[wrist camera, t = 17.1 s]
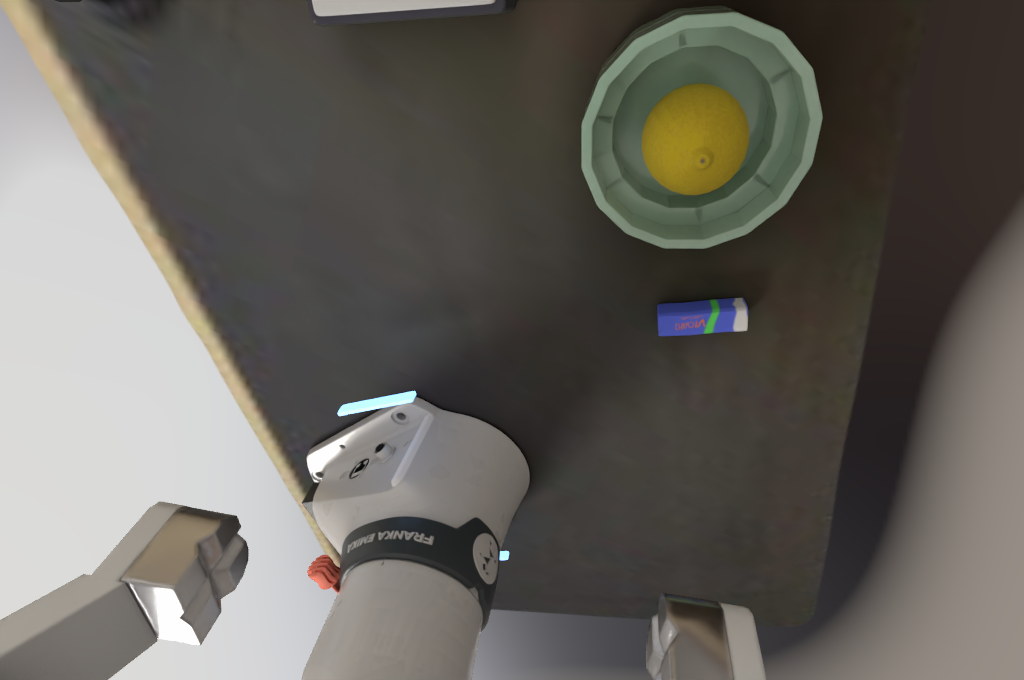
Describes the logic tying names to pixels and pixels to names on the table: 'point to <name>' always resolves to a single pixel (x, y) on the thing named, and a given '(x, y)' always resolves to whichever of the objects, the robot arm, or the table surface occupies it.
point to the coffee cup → (68, 0)
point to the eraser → (702, 317)
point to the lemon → (695, 139)
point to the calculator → (400, 10)
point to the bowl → (709, 60)
